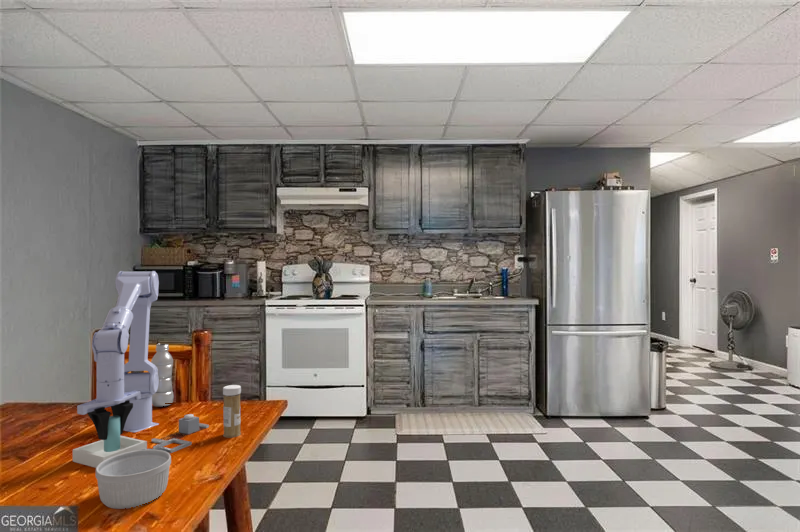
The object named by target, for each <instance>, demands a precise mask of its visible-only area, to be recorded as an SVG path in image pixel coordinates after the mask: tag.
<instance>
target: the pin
mask: <svg viewBox="0 0 800 532" xmlns="http://www.w3.org/2000/svg"><path fill="white" fill-rule="evenodd" d="M120 436H121V435H120V416H113V415H110V417H109V421H108V436H107V439H106V440H104V451H105V452H113V451H117V450H119V449H120Z"/></svg>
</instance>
